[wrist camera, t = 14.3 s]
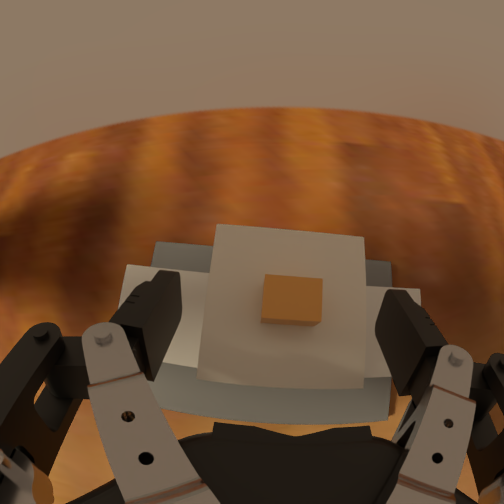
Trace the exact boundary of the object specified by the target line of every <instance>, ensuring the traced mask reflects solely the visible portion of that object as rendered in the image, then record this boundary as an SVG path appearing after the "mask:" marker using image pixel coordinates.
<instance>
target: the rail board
mask: <svg viewBox="0 0 504 504" xmlns="http://www.w3.org/2000/svg"><path fill="white" fill-rule="evenodd" d="M212 253H213V246H205V245H193V244H181V243H170V242H158V241H156V245H155V249H154V254H153V258H152V263H151V267H147V266H138V265H130V264H127V267H126V272H125V276H124V281H123V286H122V291H121V296H120V301H119V306H118V309H119V307H120V306H121V305H122V304H123V302H125V300H126V298H127V297H128V296H130V293H131V292H132V291H133V289H134V288H135V287H136V286H138V285H139V284H141V283H143V282H144V281H151V280H152V279H153V277H154V276H155V275H156V273H157V272H158V271H159V270H167V271H177V272H179V273H180V279H181V296H182V316H181V321H180V323H179V325H178V328H177V330H176V332H175V334H174V337H173V339H172V341H171V343H170V346H169V348H168V350H167V353H166V355H165V357H164V359H163V362H162V364H161V366H160V369H159V371H158V373H157V376H156V378H155V380H154V382H152V381H147V382H148V384H149V386H150V388H151V390H152V392H153V394H154V397H155V399H156V401H157V403H158V405H159V407H160V408H162V409H167V410H172V411H177V412H182V413H188V414H193V415H199V416H206V417H213V418H220V419H228V420H237V421H247V422H259V423H274V424H349V423H364V422H375V421H385V420H388V413H389V403H390V392H391V379H392V376H391V373H390V371H389V368H388V366H387V363H386V361H385V358H384V356H383V353H382V351H381V348H380V346H379V343H378V341H377V339H376V336H375V323H376V319H377V316H378V313H379V310H380V307H381V304H382V301H383V298H384V295H385V292H386V291H387V290H388V289H399V290H406V291H407V292H408V293H409V295H410V296H411V298H412V299H413V300H414V302H416V303H417V304H418V305H420V306H421V295H420V289H412V288H393V287H392V272H391V262H388V261H377V260H366V259H365V267H366V352H365V371H364V386H363V388H361V389H295V388H275V387H261V386H249V385H239V384H229V383H221V382H213V381H206V380H199V379H196V376H197V367H198V358H199V349H200V341H201V332H202V324H203V317H204V309H205V301H206V294H207V287H208V280H209V273H210V266H211V259H212Z"/></svg>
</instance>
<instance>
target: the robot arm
mask: <svg viewBox="0 0 504 504" xmlns="http://www.w3.org/2000/svg"><path fill="white" fill-rule="evenodd" d="M181 316H182V296H181V279H180V273H179V272H177V271H167V270H159V271H158V272H157V273H156V275H155V276H154V277H153V279H152V280H151V281H144V282H143V283H141V284H139V285H138V286H136V287H135V288H134V289H133V291H132V292H131V293H130V296H128V297H127V298H126V300H125V302H123V304H122V305H121V306H120V307H119V309H118V310H117V311H116V313H115V314H114V315H113V317H112V318H111V319H110V321H109V322H103V323H98V324H95V325H93V326H91V327H89V328H88V329H87V330H86V331H85V332H84V333H83V335H82V336H81V337H62V334H61V331H60V329H59V327H58V326H57V325H56V324H53V323H49V322H45V323H40V324H37V325H35V326H33V327H31V328H30V329H29V330H28V331H27V332H26V333H25V334H24V335H23V337H22V338H21V339H20V340H19V341H18V343H17V344H16V345H15V346H14V347H13V349H12V350H11V351H10V352H9V354H8V355H7V356H6V357H5V359H4V360H3V361H2V363H1V364H0V504H53V503H54V496H53V486H52V483H51V481H50V479H49V478H48V476H49V473H50V471H51V468H52V466H53V464H54V461H55V459H56V456H57V454H58V452H59V449H60V447H61V445H62V443H63V440H64V438H65V436H66V434H67V431H68V429H69V427H70V425H71V423H72V421H73V419H74V417H75V414H76V412H77V410H78V408H79V406H80V404H81V402H82V400H83V399H90V401H91V405H92V409H93V413H94V417H95V420H96V424H97V427H98V431H99V434H100V437H101V440H102V443H103V446H104V449H105V452H106V455H107V458H108V461H109V464H110V466H111V469H112V471H113V474H114V477H115V479H113V480H111V481H109V482H107V483H106V484H104V485H102V486H100V487H98V488H96V489H94V490H93V491H91V492H89V493H87V494H85V495H83V496H81V497H79V498H77V499H75V500H72V501H70V502H68V503H66V504H504V429H503V430H502V432H501V433H500V434H499V435H498V434H497V431H496V429H495V427H494V424H493V422H492V420H491V417H490V415H489V411H490V410H491V409H492V408H493V407H494V405H495V404H496V403H498V405H499V407H500V409H501V411H502V413H503V415H504V354H500V353H494V354H492V355H491V357H490V358H489V360H488V362H487V363H486V364H481V363H475V362H473V359H472V357H471V356H470V354H469V353H468V352H467V351H466V350H464V349H463V348H461V347H459V346H456V345H448V343H447V342H446V340H445V339H444V337H443V335H442V334H441V332H440V331H439V329H438V328H437V327H436V325H434V322H433V321H432V319H430V316H429V315H428V313H427V312H426V311H425V309H424V308H422V307H421V306H420V305H418V304H417V303H416V302H414V300H413V299H412V298H411V296H410V295H409V293H408V292H407V291H406V290H399V289H388V290H387V291H386V292H385V295H384V298H383V301H382V304H381V307H380V310H379V313H378V316H377V319H376V323H375V336H376V339H377V341H378V343H379V346H380V348H381V351H382V353H383V356H384V358H385V361H386V363H387V366H388V368H389V371H390V373H391V376H392V379H393V381H394V384H395V387H396V389H397V392H398V395H399V396H406V395H411V396H412V399H411V401H410V402H409V404H408V406H407V409H406V411H405V413H404V415H403V417H402V419H401V422H400V424H399V426H398V428H397V430H396V432H395V434H394V436H393V438H392V440H391V441H389V440H386V439H383V438H379V437H375V436H372V434H371V430H370V426H359V427H343V428H332V429H328V430H324V431H320V432H316V433H312V434H307V435H303V436H289V435H285V434H281V433H277V432H273V431H269V430H266V429H262V428H259V427H255V426H245V425H235V424H226V423H218V422H214V426H213V432H210V433H202V434H196V435H192V436H188V437H185V438H183V439H180V440H178V441H177V439H176V437H175V435H174V433H173V432H172V430H171V428H170V426H169V424H168V422H167V420H166V419H165V417H164V415H163V413H162V411H161V409H160V407H159V405H158V403H157V401H156V399H155V397H154V394H153V392H152V390H151V388H150V386H149V384H148V382H147V381H152V382H154V380H155V378H156V376H157V373H158V371H159V369H160V366H161V364H162V362H163V359H164V357H165V355H166V353H167V350H168V348H169V346H170V343H171V341H172V339H173V337H174V334H175V332H176V330H177V328H178V325H179V323H180V321H181ZM43 382H45V384H46V386H45V387H44V389H43V391H42V392H41V394H40V396H39V397H38V399H37V401H36V402H35V404H34V397H35V395H36V393H37V391H38V390H39V388H40V386H41V385H42V383H43ZM466 452H467V455H468V458H469V461H470V465H471V468H472V472H473V475H474V479H475V483H476V487H477V491H478V495H479V499H478V503H477V502H475V501H474V500H472V499H471V498H470V497H468V496H467V495H465V494H464V493H462V492H461V491H460V490H458V489H457V488H456V486H457V483H458V480H459V476H460V473H461V470H462V466H463V463H464V459H465V456H466Z"/></svg>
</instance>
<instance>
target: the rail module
mask: <svg viewBox="0 0 504 504" xmlns="http://www.w3.org/2000/svg"><path fill="white" fill-rule="evenodd" d="M365 352H366V267H365V248H364V237H358V236H349V235H339V234H329V233H319V232H308V231H297V230H286V229H275V228H263V227H251V226H239V225H226V224H217V227H216V233H215V240H214V246H213V253H212V259H211V266H210V273H209V280H208V287H207V294H206V301H205V309H204V317H203V324H202V332H201V341H200V349H199V358H198V367H197V376H196V379H199V380H206V381H213V382H221V383H229V384H239V385H249V386H261V387H275V388H295V389H361V388H363V386H364V371H365Z"/></svg>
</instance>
